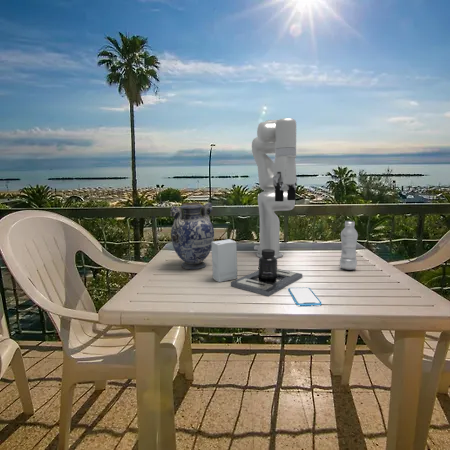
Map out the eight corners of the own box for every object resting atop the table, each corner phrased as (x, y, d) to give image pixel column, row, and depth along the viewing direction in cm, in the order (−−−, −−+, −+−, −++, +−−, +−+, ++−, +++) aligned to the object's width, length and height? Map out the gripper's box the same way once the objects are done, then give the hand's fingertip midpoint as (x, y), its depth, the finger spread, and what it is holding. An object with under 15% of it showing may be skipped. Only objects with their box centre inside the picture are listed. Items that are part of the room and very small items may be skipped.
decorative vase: (184, 276, 127) (181, 206, 123) (162, 266, 141) (158, 203, 137) (225, 265, 140) (224, 202, 136) (201, 258, 155) (199, 200, 150)
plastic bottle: (358, 272, 128) (360, 222, 125) (340, 271, 130) (342, 222, 127) (355, 267, 135) (357, 220, 132) (338, 266, 136) (340, 220, 133)
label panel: (230, 286, 115) (230, 281, 115) (267, 270, 133) (267, 266, 133) (268, 296, 105) (268, 291, 104) (302, 277, 123) (302, 273, 122)
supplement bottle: (265, 286, 114) (265, 253, 112) (254, 280, 120) (254, 249, 118) (280, 282, 117) (281, 251, 115) (269, 277, 123) (270, 247, 121)
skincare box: (230, 275, 127) (230, 238, 125) (238, 279, 122) (237, 241, 120) (211, 278, 124) (210, 240, 122) (218, 282, 119) (217, 243, 116)
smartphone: (309, 287, 111) (322, 303, 96) (309, 290, 111) (322, 307, 96) (287, 287, 111) (297, 304, 96) (287, 291, 111) (297, 307, 96)
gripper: (287, 156, 126) (287, 199, 128) (264, 153, 113) (264, 201, 115) (305, 154, 122) (304, 199, 124) (283, 151, 108) (283, 202, 110)
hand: (285, 200), depth 119 cm, fingers open, 9 cm apart
